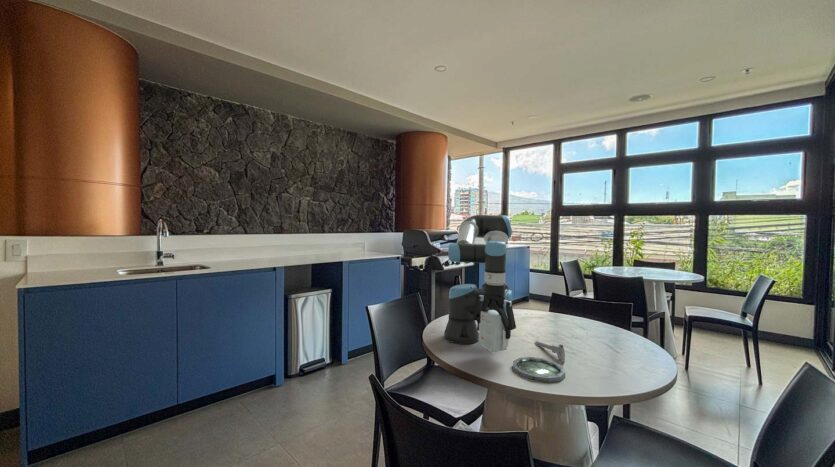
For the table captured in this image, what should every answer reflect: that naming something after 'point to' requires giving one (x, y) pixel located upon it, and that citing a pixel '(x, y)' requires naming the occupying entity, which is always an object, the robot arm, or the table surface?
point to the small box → (491, 331)
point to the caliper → (554, 350)
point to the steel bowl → (538, 369)
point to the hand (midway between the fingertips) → (493, 343)
